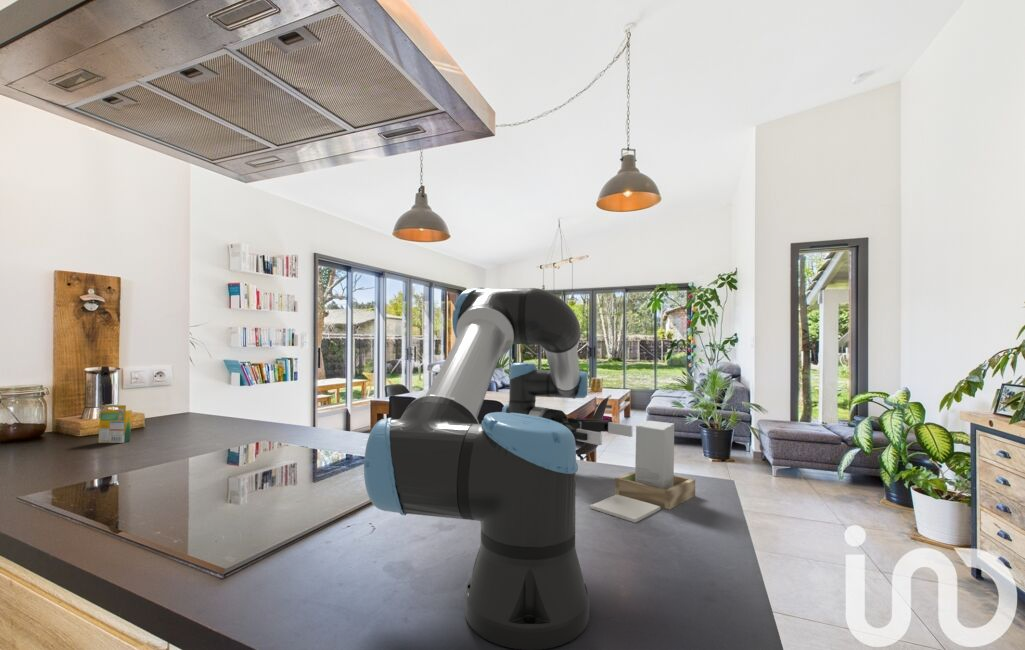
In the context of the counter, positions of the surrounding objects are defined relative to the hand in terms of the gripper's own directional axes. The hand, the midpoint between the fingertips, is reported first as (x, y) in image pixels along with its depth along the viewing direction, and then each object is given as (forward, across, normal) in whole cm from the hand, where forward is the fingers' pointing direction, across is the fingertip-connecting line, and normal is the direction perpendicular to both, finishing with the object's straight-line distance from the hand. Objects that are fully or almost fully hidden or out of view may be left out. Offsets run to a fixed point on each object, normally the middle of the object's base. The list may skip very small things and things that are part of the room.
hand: (617, 435), depth 107 cm
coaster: (+10, +13, -11) cm, 20 cm away
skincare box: (+10, 0, -12) cm, 15 cm away
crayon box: (-130, +80, -12) cm, 153 cm away
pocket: (+10, 0, -12) cm, 15 cm away
